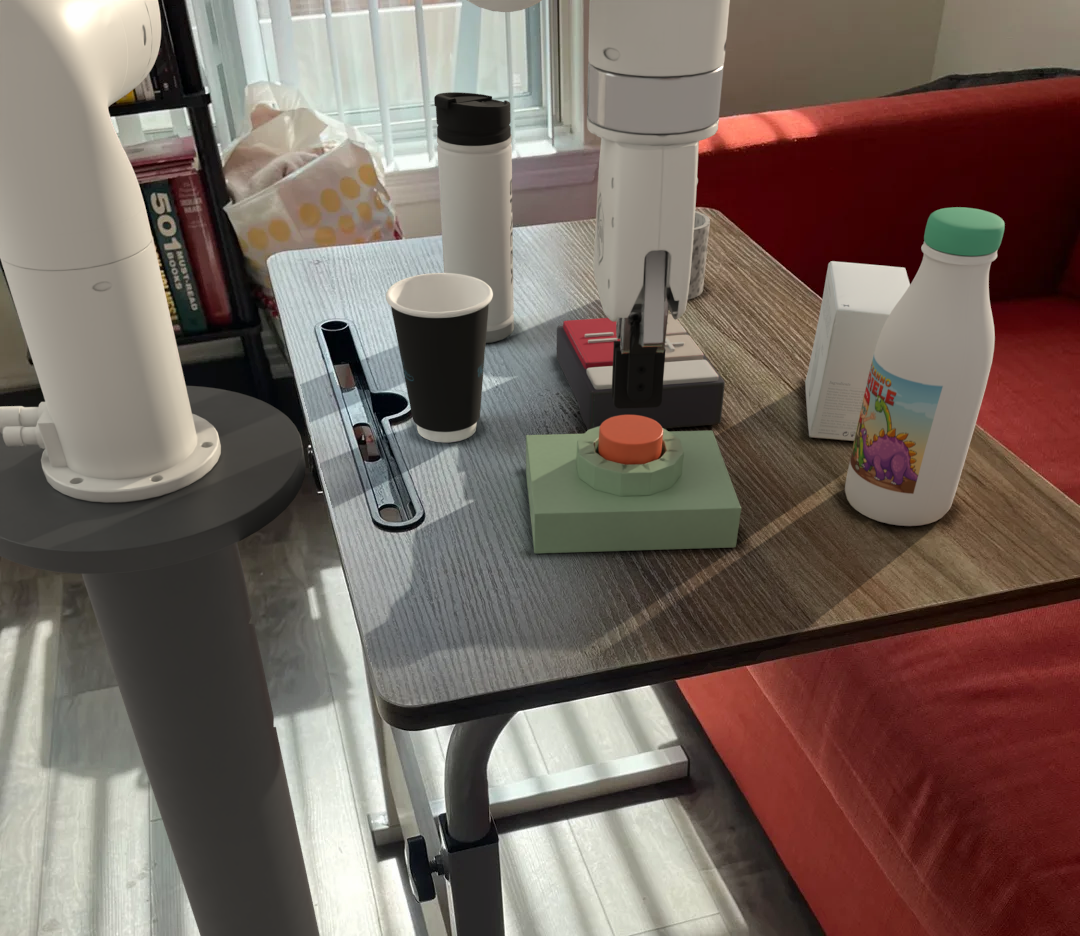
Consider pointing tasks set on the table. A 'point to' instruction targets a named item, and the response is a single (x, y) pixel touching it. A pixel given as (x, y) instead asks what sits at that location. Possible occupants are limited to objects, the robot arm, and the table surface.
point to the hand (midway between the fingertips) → (636, 401)
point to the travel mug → (478, 197)
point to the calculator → (685, 383)
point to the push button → (630, 439)
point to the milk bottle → (928, 376)
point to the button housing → (629, 496)
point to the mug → (699, 254)
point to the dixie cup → (442, 350)
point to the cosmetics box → (848, 343)
